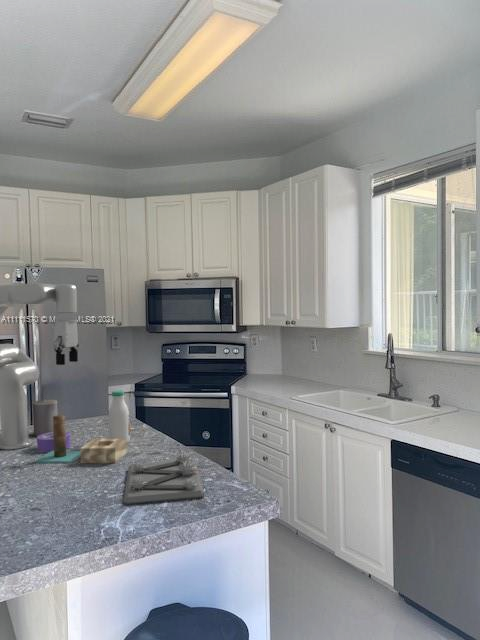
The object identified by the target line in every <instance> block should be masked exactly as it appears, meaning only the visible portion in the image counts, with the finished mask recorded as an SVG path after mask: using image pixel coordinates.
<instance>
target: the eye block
mask: <svg viewBox="0 0 480 640" xmlns="http://www.w3.org/2000/svg"><path fill="white" fill-rule="evenodd" d="M127 444H128V443H126V439H109V438H93V439H91V440H90V441H88V442H87V443H86V444H85V445H83V446H81V448H80V451H81V455H80V464H116V463H118V461H119V460H120V459H122V458H123V457H124V456H125V455H126V454H127V453H128V446H127Z"/></svg>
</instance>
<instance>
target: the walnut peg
mask: <svg viewBox="0 0 480 640" xmlns="http://www.w3.org/2000/svg"><path fill="white" fill-rule="evenodd" d="M66 432H67V431H66V415H64V414H58V415H56V416H53V435H54V457H64V456H66V451H67V449H66Z"/></svg>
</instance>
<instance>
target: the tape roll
mask: <svg viewBox="0 0 480 640" xmlns="http://www.w3.org/2000/svg"><path fill="white" fill-rule="evenodd" d="M71 442H72V441H71V432H69V431H66V450H68V449H70V447H72V445H71V444H72V443H71ZM36 443H37V444H36V445H37V451H38V452H40V453H49V452H51V451H54V435H53V432H49V433H45V434H41V435H39V436H38V437H36Z"/></svg>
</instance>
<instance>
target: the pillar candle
mask: <svg viewBox="0 0 480 640" xmlns="http://www.w3.org/2000/svg"><path fill="white" fill-rule="evenodd" d="M58 413H59V411H58V400H56V399H41V400H36V401H33V402H32V414H33V415H32V418H33V419H32V420H33V436H34V437H36V438H37V437H38V436H39V435H41V434H45V433H49V432H53V416H56V415H59V414H58Z"/></svg>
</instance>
